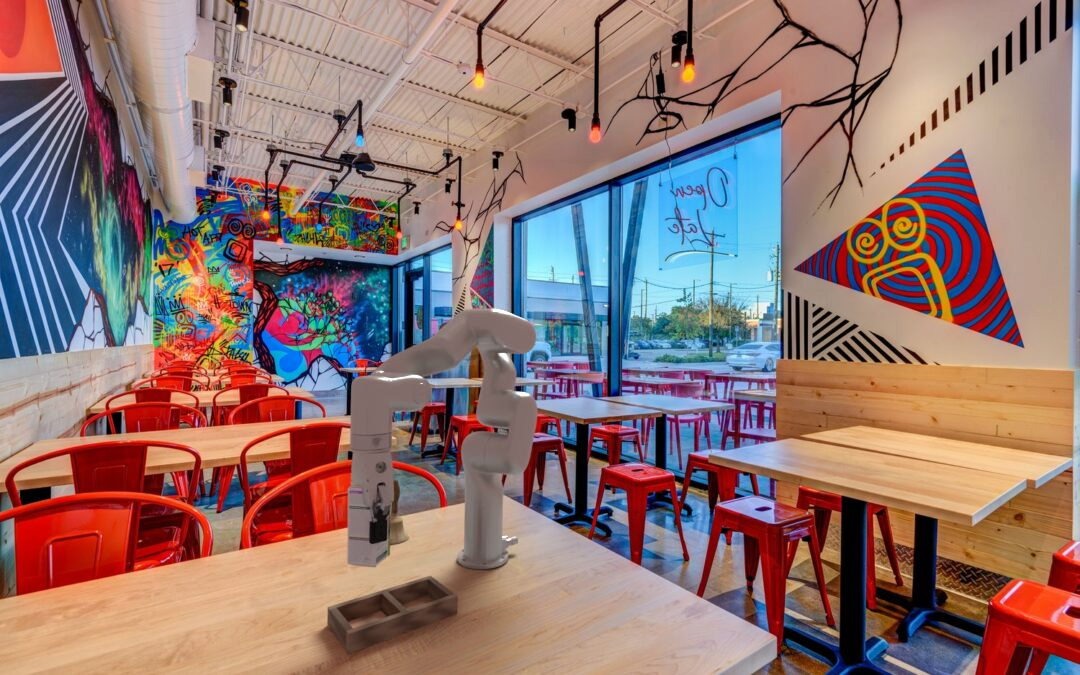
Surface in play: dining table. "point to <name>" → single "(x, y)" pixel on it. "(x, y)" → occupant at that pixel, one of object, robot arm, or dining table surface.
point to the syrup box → (363, 532)
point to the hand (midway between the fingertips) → (369, 534)
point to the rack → (389, 613)
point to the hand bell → (396, 520)
